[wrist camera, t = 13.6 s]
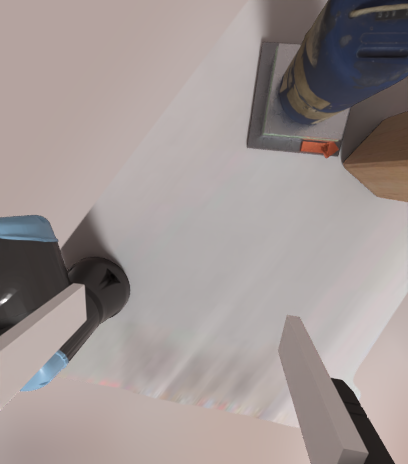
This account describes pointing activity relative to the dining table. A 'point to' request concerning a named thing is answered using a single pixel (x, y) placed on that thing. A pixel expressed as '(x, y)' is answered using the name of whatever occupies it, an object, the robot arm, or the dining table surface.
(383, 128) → the block
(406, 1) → the canister
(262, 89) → the stand
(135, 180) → the dining table surface
